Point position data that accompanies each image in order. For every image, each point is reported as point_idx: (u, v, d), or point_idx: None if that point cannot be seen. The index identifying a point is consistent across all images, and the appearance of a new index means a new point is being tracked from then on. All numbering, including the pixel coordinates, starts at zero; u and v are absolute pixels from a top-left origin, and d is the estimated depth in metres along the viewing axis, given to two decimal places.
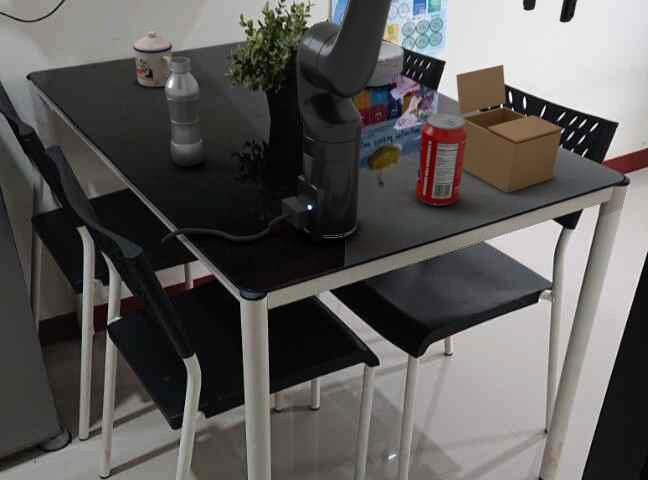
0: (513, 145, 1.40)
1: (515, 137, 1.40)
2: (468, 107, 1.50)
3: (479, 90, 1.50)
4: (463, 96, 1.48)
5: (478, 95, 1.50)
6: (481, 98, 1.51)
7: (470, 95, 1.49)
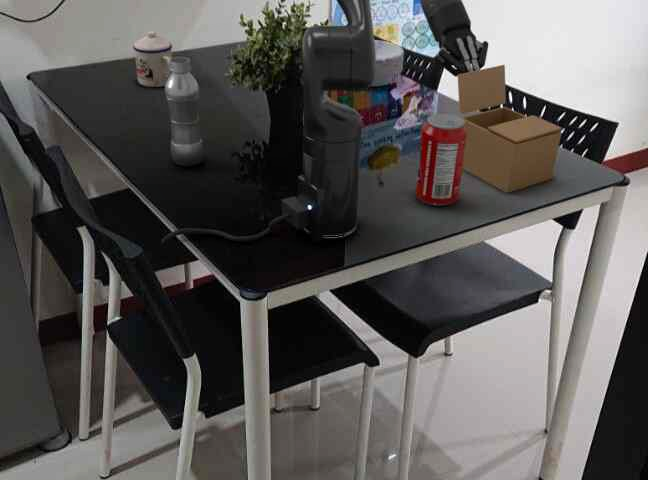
0: (513, 145, 1.40)
1: (515, 137, 1.40)
2: (468, 107, 1.50)
3: (480, 90, 1.50)
4: (464, 96, 1.48)
5: (478, 95, 1.50)
6: (482, 98, 1.51)
7: (470, 95, 1.49)
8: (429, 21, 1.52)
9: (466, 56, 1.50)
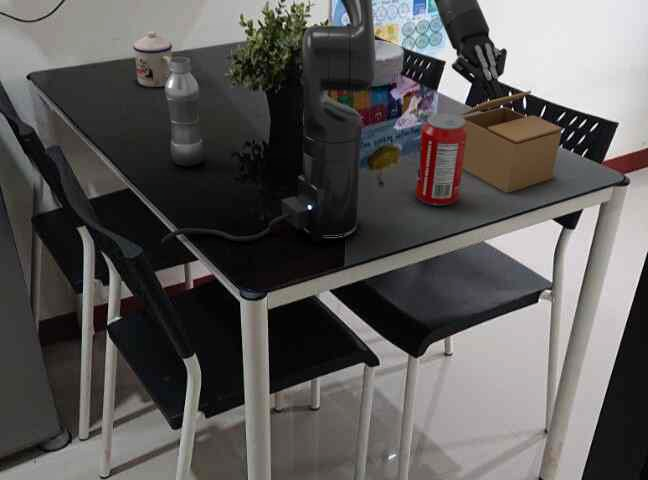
0: (513, 145, 1.40)
1: (515, 137, 1.40)
2: (471, 112, 1.49)
3: (492, 105, 1.48)
4: (475, 109, 1.47)
5: (488, 106, 1.49)
6: (489, 107, 1.50)
7: (481, 108, 1.48)
8: (446, 28, 1.48)
9: (484, 64, 1.46)
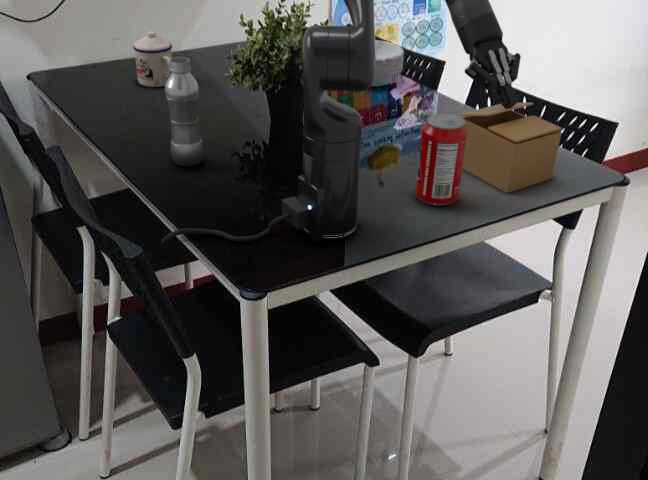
0: (513, 145, 1.40)
1: (515, 137, 1.40)
2: None
3: None
4: None
5: None
6: None
7: None
8: (459, 32, 1.46)
9: (498, 69, 1.44)
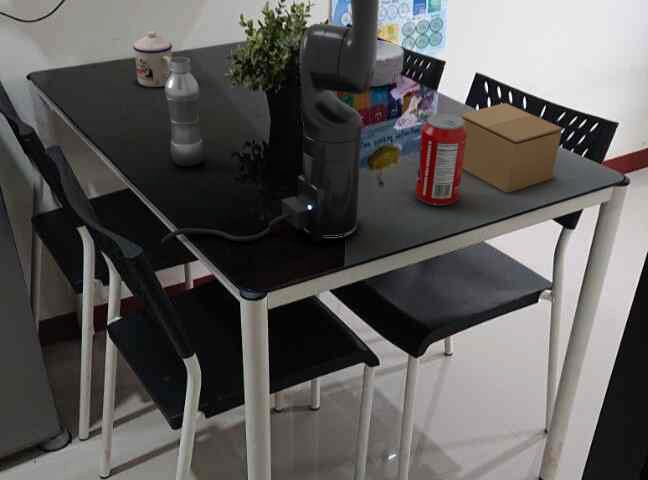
0: (513, 145, 1.40)
1: (515, 137, 1.40)
2: None
3: None
4: None
5: None
6: None
7: None
8: None
9: None
